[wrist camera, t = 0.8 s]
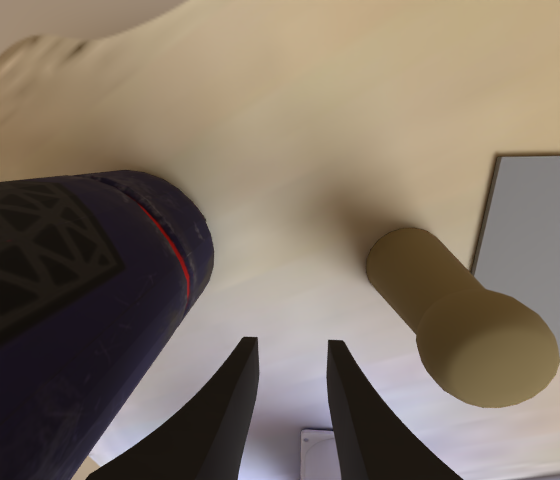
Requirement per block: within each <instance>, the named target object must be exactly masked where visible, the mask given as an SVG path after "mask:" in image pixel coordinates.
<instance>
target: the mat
mask: <svg viewBox="0 0 560 480" xmlns="http://www.w3.org/2000/svg"><path fill="white" fill-rule="evenodd" d="M471 274H472V275H473V276H474V277H475V278H476V279H477V280H478V281H479V282H480V283H481V284H482V286H483V287H484V288H485V289H487V290H491V291H495V292H499V293H502V294H505V295H508V296H511V297H513V298H515V299H516V300H518V301H519V302H521V303H522V304H524V305H525V306H527V307H528V308H530V309H531V310H533V311H534V312H536V313H538V314H539V315H540V317H541V318H542V319H543V320H544V321H545V323H546V324H547V325H548V327H549V328H550V330H551V331H552V333H553V334H554V336H555V338H556V341H557V345H558V349H559V357H560V156H521V157H498V158H497V162H496V167H495V171H494V175H493V180H492V184H491V189H490V193H489V197H488V202H487V206H486V211H485V215H484V219H483V224H482V228H481V233H480V237H479V241H478V246H477V250H476V255H475V259H474V263H473V268H472V272H471Z"/></svg>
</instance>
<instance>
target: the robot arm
mask: <svg viewBox="0 0 560 480" xmlns="http://www.w3.org/2000/svg"><path fill="white" fill-rule="evenodd" d="M326 378H327V391H328V403H329V408H330V414H331V420H332V426H333V431H323V430H307V429H305V430H302V431H301V480H463V479H462V478H461V477H460V476H458V475H457V474H456V473H455V472H454V471H453V470H452V469H450V468H449V467H448V466H447V465H446V464H445V463H443V462H442V461H441V460H440V459H439V458H438V457H437V456H436V455H435V454H434V453H433V452H432V451H430V450H429V449H428V448H427V447H426V446H425V445H424V444H423V443H422V442H421V441H420V440H419V439H418V438H417V437H416V436H415V435H414V434H413V433H412V432H411V431H410V430H409V429H408V428H407V427H406V426H405V425H404V424H403V423H402V421H401V420H400V419H399V418H398V417H397V416H396V415H395V414H394V412H393V411H392V410H391V409H390V408H389V407H388V405H387V404H386V403H385V402H384V401H383V399H382V398H381V397H380V395H379V394H378V393H377V392H376V390H375V389H374V388H373V386H372V385H371V384H370V382H369V381H368V379H367V378H366V376H365V375H364V374H363V372H362V371H361V369H360V368H359V366H358V365H357V363H356V361H355V360H354V358H353V356H352V355H351V353H350V351H349V350H348V348H347V346H346V344H345V342H344V341H343V340H328V356H327V377H326ZM258 381H259V356H258V337H243V338H242V339H241V341H240V342H239V343H238V345H237V346H236V348H235V349H234V350H233V352H232V353H231V354H230V356H229V357H228V358H227V360H226V361H225V362H224V363H223V365H222V366H221V367H220V368H219V369H218V371H217V372H216V373H215V374H214V375H213V376H212V378H211V379H210V380H209V381H208V382H207V383H206V384H205V385H204V386H203V387H202V389H201V390H200V391H199V392H198V393H197V394H196V395H195V396H194V397H193V398H192V399H191V400H190V401H188V402H187V403H186V404H185V405H184V406H183V407H182V408H181V409H180V410H179V411H178V412H176V413H175V414H174V415H173V416H172V417H171V418H169V419H168V420H167V421H166V422H165V423H163V424H162V425H161V426H160V427H159V428H157V429H156V430H155V431H153V432H152V433H151V434H149V435H148V436H147V437H145V438H144V439H143V440H141V441H140V442H139V443H137V444H136V445H134V446H133V447H131V448H130V449H128V450H127V451H126V452H124V453H123V454H121V455H119V456H118V457H116V458H115V459H113V460H112V461H110V462H108V463H107V464H105V465H104V466H102V467H101V468H99V469H98V470H96V471H94V472H93V473H91V474H89V476H88V477H87V478H86V480H238V474H239V468H240V463H241V458H242V454H243V450H244V445H245V441H246V437H247V433H248V429H249V425H250V421H251V417H252V413H253V409H254V405H255V401H256V396H257V389H258Z"/></svg>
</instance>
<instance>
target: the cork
mask: <svg viewBox="0 0 560 480" xmlns="http://www.w3.org/2000/svg"><path fill="white" fill-rule="evenodd" d="M366 273H367V276H368V278H369V281H370V283H371V284H372V285H373V287H374V288H375V289H376V290H377V291H378V292H379V294H380V295H381V296H382V297H383V298H384V299H385V300H386V301H387V302H388V304H389V305H390V306H391V307H392V308H393V309H394V310H395V311H396V313H397V314H398V315H399V316H400V317H401V318H402V319H403V320H404V322H405V323H406V324H407V325H408V326H409V327H410V328H411V329H412V330H413V332H414V333H415V334H416V343H417V347H418V351H419V354H420V358H421V361H422V363H423V365H424V367H425V369H426V371H427V372H428V373H429V374H430V376H431V377H432V378H433V379H434V380H435V382H436V383H437V384H438V385H439V386H440V387H441V388H442V389H443V390H444V391H446V392H447V393H449V394H451V395H452V396H454V397H456V398H457V399H459V400H461V401H463V402H465V403H467V404H470V405H474V406H478V407H482V408H502V407H506V406H511V405H516V404H519V403H521V402H523V401H526V400H528V399H530V398H532V397H534V396H535V395H537V394H538V393H539V392H541V391H542V390H543V389H545V388H546V387H547V386H548V384H549V383H550V382H551V380H552V379H553V378H554V376H555V375H556V372H557V369H558V366H559V363H560V357H559V349H558V345H557V341H556V338H555V336H554V334H553V333H552V331H551V330H550V328H549V327H548V325H547V324H546V323H545V321H544V320H543V319H542V318H541V317H540V315H539V314H538V313H536V312H534V311H533V310H531V309H530V308H528V307H527V306H525V305H524V304H522V303H521V302H519V301H518V300H516V299H515V298H513V297H511V296H508V295H505V294H502V293H499V292H495V291H491V290H487V289H485V288H484V287H483V286H482V284H481V283H480V282H479V281H478V280H477V279H476V278H475V277H474V276H473V275H472V274H471V273H470V272H469V271H468V270H467V269H466V268H465V267H464V266H463V264H462V263H461V262H460V261H459V260H458V259H457V258H456V257H455V256H454V255H453V254H452V253H451V252H450V251H449V250H448V249H447V248H446V247H445V245H444V244H443V243H442V242H441V241H440V240H439V239H438V238H437V237H435V236H434V235H432V234H431V233H429V232H428V231H425V230H421V229H417V228H402V229H399V230H396V231H393V232H390V233H388V234H387V235H385V236H384V237H382V238H381V239H379V240H378V241H377V243H376V244H375V245H374V246H373V248H372V249H371V250H370V253H369V256H368V258H367V261H366Z"/></svg>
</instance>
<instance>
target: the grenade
mask: <svg viewBox="0 0 560 480" xmlns="http://www.w3.org/2000/svg"><path fill="white" fill-rule="evenodd" d="M205 221H206V219H205V218H204V216H203V215H202V214H201V212H200V211H199V209H198V208H197V207H196V206H195V205H194V203H193V202H192V201H191V200H190V199H189V198H188V197H187V196H185V195H184V194H183V193H182V192H181V191H180V190H179V189H178V188H176V187H174V186H173V185H171V184H170V183H168V182H166V181H165V180H163V179H161V178H158V177H155V176H153V175H150V174H147V173H144V172H137V171H130V170H120V171H111V172H101V173H91V174H82V175H73V176H68V175H65V176H55V177H45V178H36V179H26V180H16V181H6V182H0V480H71V478H72V477H73V475H74V474H75V473H76V471H77V470H78V468H79V467H80V466H81V464H82V463H83V461H84V460H85V458H86V457H87V456H88V454H89V453H90V451H91V450H92V449H93V447H94V446H95V444H96V443H97V441H98V440H99V439H100V437H101V436H102V434H103V433H104V431H105V430H106V429H107V427H108V426H109V424H110V423H111V422H112V420H113V419H114V417H115V416H116V414H117V413H118V412H119V410H120V409H121V407H122V406H123V405H124V403H125V402H126V400H127V399H128V397H129V396H130V395H131V393H132V392H133V390H134V389H135V387H136V386H137V385H138V383H139V382H140V380H141V379H142V378H143V376H144V375H145V373H146V372H147V370H148V369H149V368H150V366H151V365H152V363H153V362H154V361H155V359H156V358H157V356H158V355H159V353H160V352H161V351H162V349H163V348H164V346H165V345H166V343H167V342H168V341H169V339H170V338H171V336H172V335H173V333H174V332H175V330H176V328H177V327H178V326H179V325H180V323H181V322H182V320H183V319H184V318H185V316H186V315H187V313H188V312H189V310H190V309H191V308H192V306H193V305H194V303H195V302H196V301H197V299H198V298H199V296H200V295H201V293H202V292H203V290H204V289H205V287H206V285H207V284H208V282H209V280H210V277H211V273H212V270H213V266H214V248H213V242H212V237H211V233H210V231H209V229H208V226H207V224H206V222H205Z"/></svg>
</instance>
